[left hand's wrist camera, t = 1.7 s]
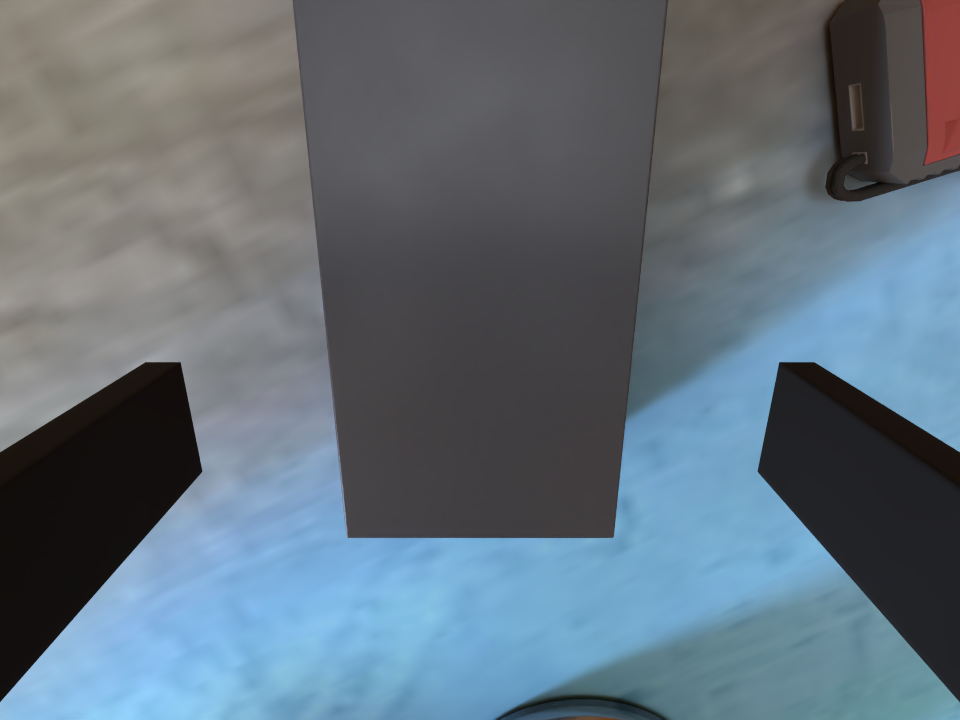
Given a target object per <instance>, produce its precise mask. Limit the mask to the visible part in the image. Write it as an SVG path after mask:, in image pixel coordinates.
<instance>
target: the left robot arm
mask: <svg viewBox="0 0 960 720" xmlns="http://www.w3.org/2000/svg"><path fill="white" fill-rule="evenodd" d="M201 473H202V467H201V462H200V457H199V452H198V447H197V442H196V437H195V432H194V427H193V422H192V417H191V412H190V407H189V402H188V397H187V392H186V387H185V382H184V377H183V372H182V367H181V362H145V363H144V364H142V365H141V366H139V367H137V368H136V369H134V370H132V371H131V372H129V373H128V374H126V375H124V376H123V377H121V378H120V379H118V380H116V381H115V382H113V383H111V384H110V385H108V386H107V387H105V388H103V389H102V390H100V391H99V392H97V393H95V394H94V395H92V396H91V397H89V398H87V399H86V400H84V401H82V402H81V403H79V404H78V405H76V406H74V407H73V408H71V409H70V410H68V411H66V412H65V413H63V414H61V415H60V416H58V417H57V418H55V419H53V420H52V421H50V422H49V423H47V424H45V425H44V426H42V427H40V428H39V429H37V430H36V431H34V432H32V433H31V434H29V435H28V436H26V437H24V438H23V439H21V440H19V441H18V442H16V443H15V444H13V445H11V446H10V447H8V448H7V449H5V450H3V451H2V452H0V702H1V701H2V699H3V698H4V697H5V696H6V695H7V694H8V693H9V691H10V690H11V689H12V688H13V687H14V686H15V685H16V683H17V682H18V681H19V680H20V679H21V678H22V677H23V675H24V674H25V673H26V672H27V671H28V670H29V669H30V667H31V666H32V665H33V664H34V663H35V662H36V661H37V659H38V658H39V657H40V656H41V655H42V654H43V653H44V652H45V650H46V649H47V648H48V647H49V646H50V645H51V644H52V642H53V641H54V640H55V639H56V638H57V637H58V636H59V634H60V633H61V632H62V631H63V630H64V629H65V628H66V626H67V625H68V624H69V623H70V622H71V621H72V620H73V618H74V617H75V616H76V615H77V614H78V613H79V612H80V610H81V609H82V608H83V607H84V606H85V605H86V604H87V603H88V601H89V600H90V599H91V598H92V597H93V596H94V595H95V593H96V592H97V591H98V590H99V589H100V588H101V587H102V585H103V584H104V583H105V582H106V581H107V580H108V579H109V577H110V576H111V575H112V574H113V573H114V572H115V571H116V569H117V568H118V567H119V566H120V565H121V564H122V563H123V561H124V560H125V559H126V558H127V557H128V556H129V555H130V554H131V552H132V551H133V550H134V549H135V548H136V547H137V546H138V544H139V543H140V542H141V541H142V540H143V539H144V538H145V536H146V535H147V534H148V533H149V532H150V531H151V530H152V528H153V527H154V526H155V525H156V524H157V523H158V522H159V520H160V519H161V518H162V517H163V516H164V515H165V514H166V512H167V511H168V510H169V509H170V508H171V507H172V506H173V505H174V503H175V502H176V501H177V500H178V499H179V498H180V497H181V495H182V494H183V493H184V492H185V491H186V490H187V489H188V487H189V486H190V485H191V484H192V483H193V482H194V481H195V479H196V478H197V477H198V476H199V475H200V474H201ZM758 473H759V474H760V475H761V476H762V477H763V478H764V479H765V481H766V482H767V483H768V484H769V485H770V486H771V487H772V489H773V490H774V491H775V492H776V493H777V494H778V495H779V497H780V498H781V499H782V500H783V501H784V502H785V503H786V505H787V506H788V507H789V508H790V509H791V510H792V511H793V512H794V514H795V515H796V516H797V517H798V518H799V519H800V520H801V522H802V523H803V524H804V525H805V526H806V527H807V528H808V530H809V531H810V532H811V533H812V534H813V535H814V536H815V538H816V539H817V540H818V541H819V542H820V543H821V544H822V546H823V547H824V548H825V549H826V550H827V551H828V552H829V554H830V555H831V556H832V557H833V558H834V559H835V560H836V561H837V563H838V564H839V565H840V566H841V567H842V568H843V569H844V571H845V572H846V573H847V574H848V575H849V576H850V577H851V579H852V580H853V581H854V582H855V583H856V584H857V585H858V587H859V588H860V589H861V590H862V591H863V592H864V593H865V595H866V596H867V597H868V598H869V599H870V600H871V601H872V603H873V604H874V605H875V606H876V607H877V608H878V609H879V610H880V612H881V613H882V614H883V615H884V616H885V617H886V618H887V620H888V621H889V622H890V623H891V624H892V625H893V626H894V628H895V629H896V630H897V631H898V632H899V633H900V634H901V636H902V637H903V638H904V639H905V640H906V641H907V642H908V644H909V645H910V646H911V647H912V648H913V649H914V650H915V652H916V653H917V654H918V655H919V656H920V657H921V658H922V659H923V661H924V662H925V663H926V664H927V665H928V666H929V667H930V669H931V670H932V671H933V672H934V673H935V674H936V675H937V677H938V678H939V679H940V680H941V681H942V682H943V683H944V685H945V686H946V687H947V688H948V689H949V690H950V691H951V693H952V694H953V695H954V696H955V697H956V698H957V699H958V701H959V702H960V452H958V451H957V450H955V449H953V448H952V447H950V446H949V445H947V444H945V443H944V442H942V441H941V440H939V439H937V438H936V437H934V436H932V435H931V434H929V433H928V432H926V431H924V430H923V429H921V428H920V427H918V426H916V425H915V424H913V423H911V422H910V421H908V420H907V419H905V418H903V417H902V416H900V415H899V414H897V413H895V412H894V411H892V410H890V409H889V408H887V407H886V406H884V405H882V404H881V403H879V402H878V401H876V400H874V399H873V398H871V397H869V396H868V395H866V394H865V393H863V392H861V391H860V390H858V389H857V388H855V387H853V386H852V385H850V384H849V383H847V382H845V381H844V380H842V379H840V378H839V377H837V376H836V375H834V374H832V373H831V372H829V371H828V370H826V369H824V368H823V367H821V366H819V365H818V364H816V363H815V362H779V367H778V372H777V377H776V382H775V387H774V392H773V397H772V402H771V407H770V412H769V417H768V422H767V427H766V432H765V437H764V442H763V447H762V452H761V457H760V462H759V467H758ZM500 720H663V719H661V718H659V717H658V716H656V715H654V714H652V713H649V712H647V711H645V710H642V709H639V708H636V707H634V706H630V705H626V704H622V703H617V702H612V701H604V700H592V699H574V700H562V701H554V702H549V703H543V704H539V705H535V706H531V707H528V708H525V709H522V710H519V711H517V712H515V713H512V714H510V715H508V716H506V717H504V718H502V719H500Z"/></svg>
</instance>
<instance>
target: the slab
mask: <svg viewBox="0 0 960 720" xmlns="http://www.w3.org/2000/svg"><path fill="white" fill-rule="evenodd" d="M667 4H668V0H293V8H294V18H295V28H296V38H297V48H298V58H299V68H300V78H301V88H302V98H303V108H304V118H305V128H306V138H307V147H308V157H309V167H310V177H311V187H312V197H313V207H314V217H315V227H316V237H317V247H318V257H319V267H320V277H321V287H322V297H323V307H324V317H325V327H326V337H327V346H328V356H329V366H330V376H331V386H332V396H333V406H334V416H335V426H336V436H337V446H338V456H339V466H340V476H341V486H342V496H343V506H344V516H345V526H346V536H347V537H348V538H613V537H614V528H615V518H616V509H617V499H618V489H619V479H620V469H621V459H622V449H623V439H624V429H625V420H626V410H627V400H628V390H629V380H630V370H631V360H632V350H633V340H634V331H635V321H636V311H637V301H638V291H639V281H640V271H641V261H642V251H643V242H644V232H645V222H646V212H647V202H648V192H649V182H650V172H651V162H652V153H653V143H654V133H655V123H656V113H657V103H658V93H659V83H660V73H661V64H662V54H663V44H664V34H665V24H666V14H667Z"/></svg>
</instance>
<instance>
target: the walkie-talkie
mask: <svg viewBox="0 0 960 720" xmlns="http://www.w3.org/2000/svg"><path fill="white" fill-rule="evenodd" d="M830 34H831V45H832V56H833V67H834V78H835V89H836V100H837V111H838V122H839V134H840V145H841V156H842V159H841V160H839V161H838V162H836V163H835V164H833V166H832V167H831V169H830V170H829V172H828V174H827V180H826V187H825V188H826V190H827V192H828V194H829V195H830V196H831V197H832V198H834V199H836V200H840V201H862V200H865V199H868V198H872V197H875V196H878V195H881V194H885V193H888V192H891V191H894V190H897V189H901V188H904V187H907V186H910V185H914V184H917V183H920V182H923V181H927V180H930V179H933V178H936V177H940V176H943V175H946V174H949V173H952V172H956V171H959V170H960V0H844V2H843V3H842V5H841V6H840V8H839V9H838V11H837V12H836V14H835V15H834V17H833V18H832V20H831V21H830ZM847 173H848V174H850V175H852V176H854V177H855V178H857V179H859V180H861V181H867V182H878V183H875V184H871V185H868V186H865V187H862V188H859V189H855V190H849V191H848V190H846V189H845V187H844V180H845V176H846V174H847Z"/></svg>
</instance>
